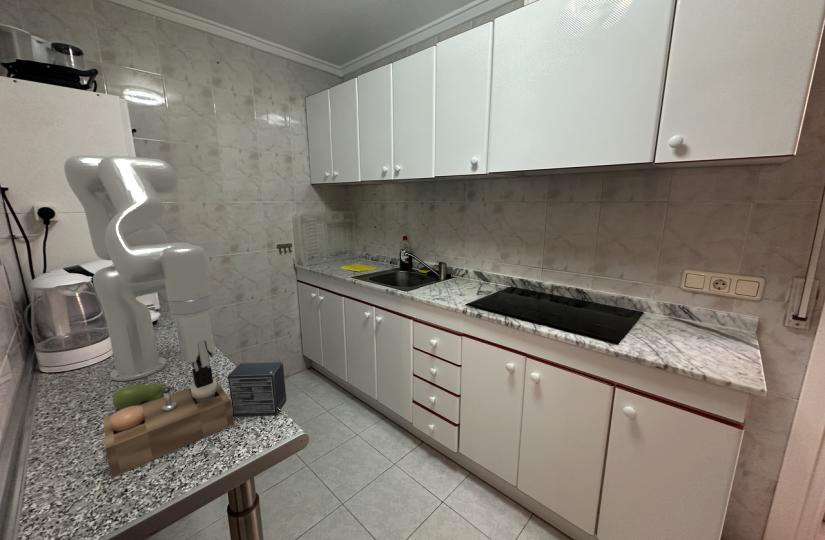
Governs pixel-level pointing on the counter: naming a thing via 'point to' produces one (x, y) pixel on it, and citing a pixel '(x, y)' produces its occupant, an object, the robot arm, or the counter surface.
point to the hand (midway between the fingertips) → (204, 384)
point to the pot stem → (168, 400)
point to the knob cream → (204, 392)
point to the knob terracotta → (127, 418)
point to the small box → (257, 389)
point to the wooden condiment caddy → (166, 429)
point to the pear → (137, 394)
